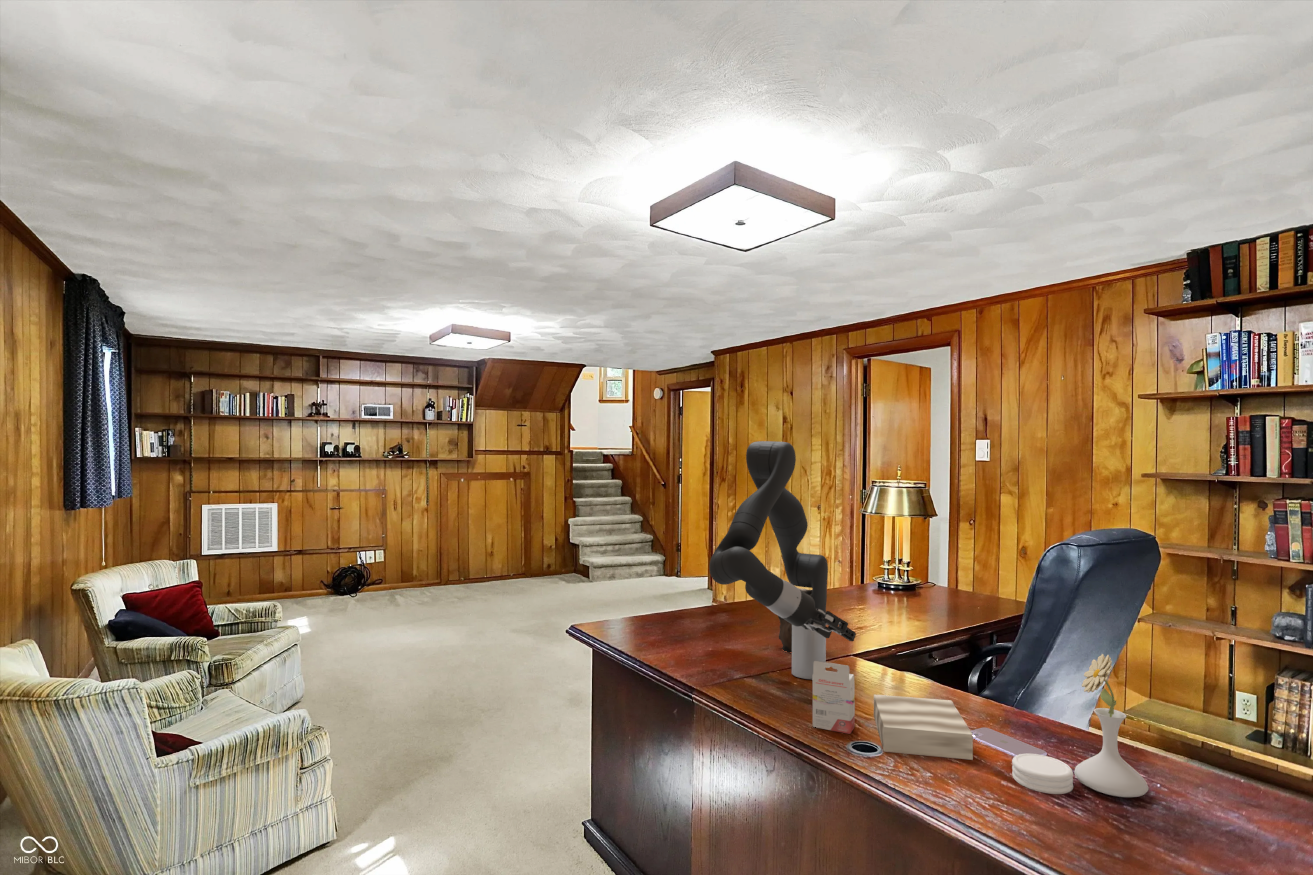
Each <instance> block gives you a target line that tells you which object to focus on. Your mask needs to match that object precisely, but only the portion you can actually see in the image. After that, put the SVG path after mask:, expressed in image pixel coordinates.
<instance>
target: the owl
mask: <svg viewBox="0 0 1313 875" xmlns="http://www.w3.org/2000/svg"><path fill="white" fill-rule="evenodd" d="M797 588H798V589H800V590H802V591H803V592H805V593H806V594H808V595H811V594H812V589H807V588H799V587H797ZM777 617H778V621H779V633H778V639H779V640H780V642H781V645H782V648H781V649H783V650H784V651H787V652H792V624H791V623H789V622H787V621H786V620H784V619H783V618H781V617H780V616H778V615H777ZM784 651H783V652H784Z"/></svg>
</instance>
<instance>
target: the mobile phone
mask: <svg viewBox="0 0 1313 875" xmlns="http://www.w3.org/2000/svg"><path fill="white" fill-rule="evenodd" d="M970 731H971V733H972V734H973V740H974V739H975V741H976V740H977V742H979V741H980V742H979V743H981V742H982V743H981V744H984V745H986V746H988V747H991V748H993V749H995V748H996V749H995V750H998V751H1000V752H1003V753H1005V754H1008V755H1010V756H1012V757H1013V758H1014V757H1015V756H1017V755H1019V754H1039V755H1044V756H1048V752H1046V750H1044V749H1041V748H1040V747H1039V748H1038V747H1036V746H1034V745H1031V744H1028V743H1026V742H1023V741H1021V740H1018V739H1016V738H1015V737H1011V736H1010V735H1006V734H1004V733H1001V732H999V731H996V730H994V729H992V728H989V727H984V726H983V727H980V728H976V729H970Z"/></svg>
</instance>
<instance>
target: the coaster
mask: <svg viewBox="0 0 1313 875" xmlns="http://www.w3.org/2000/svg"><path fill="white" fill-rule="evenodd" d="M1011 764H1012V766H1011V769H1012V773H1011V775H1012V778H1013V779H1014V780H1015V781H1016V783H1018V784H1019V785H1020V786H1023V787H1024V788H1027V789H1029V790H1032V791H1036V792H1038V793H1039V792H1040V793H1044V794H1051V795H1062V794H1063V795H1065V794H1069V793H1070V792H1072V791H1073V789H1074V784H1073V783H1074V778H1073V777H1074V771H1073V769H1072V768H1071V767H1070V765H1068V764H1067V763H1065V762H1063V761H1062V760H1060V759H1057V758H1056V757H1055V758H1054V757H1051V756H1048V755H1046V756H1044V755H1039V754H1019V755H1017V756H1015V757H1014V756H1013V758H1012V760H1011Z"/></svg>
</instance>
